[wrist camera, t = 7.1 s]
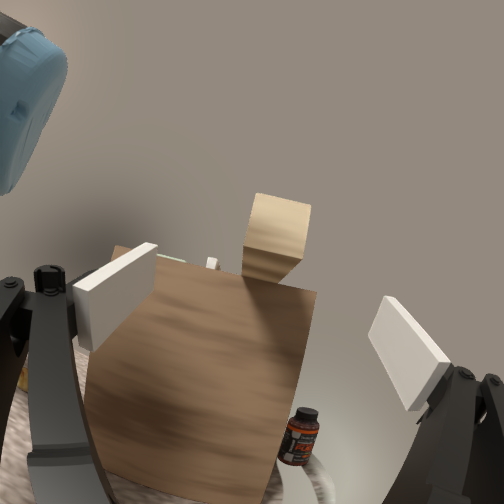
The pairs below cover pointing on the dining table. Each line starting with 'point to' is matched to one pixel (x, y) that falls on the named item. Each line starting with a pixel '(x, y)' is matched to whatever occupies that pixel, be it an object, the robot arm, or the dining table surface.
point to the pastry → (23, 380)
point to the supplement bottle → (299, 437)
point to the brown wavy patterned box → (199, 382)
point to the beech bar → (274, 238)
